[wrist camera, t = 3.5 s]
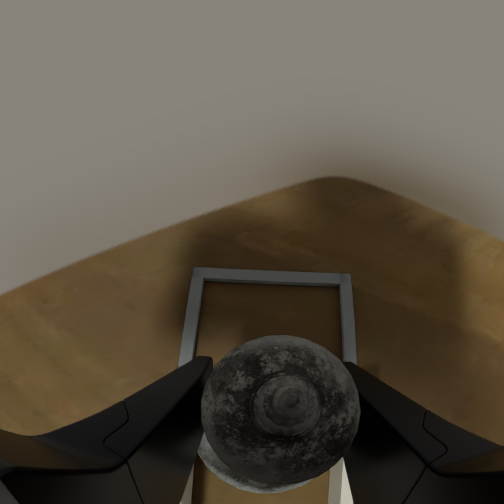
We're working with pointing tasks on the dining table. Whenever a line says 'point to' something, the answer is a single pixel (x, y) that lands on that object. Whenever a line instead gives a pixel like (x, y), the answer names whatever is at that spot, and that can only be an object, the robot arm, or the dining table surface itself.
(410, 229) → the dining table surface
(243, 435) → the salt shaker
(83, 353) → the dining table surface
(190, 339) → the frame
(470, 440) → the robot arm
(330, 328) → the dining table surface
